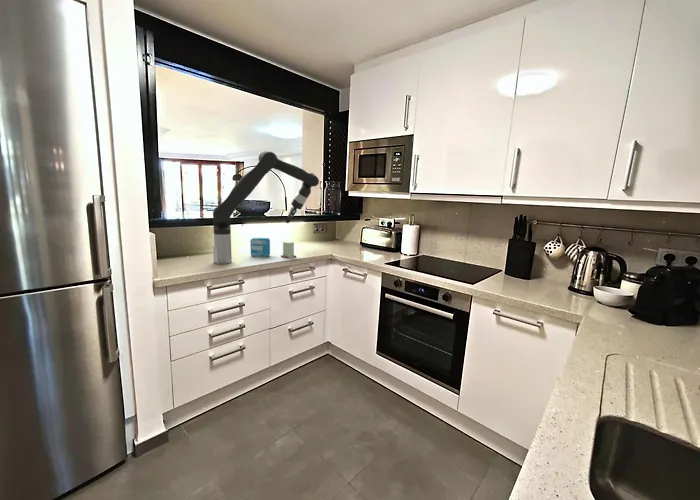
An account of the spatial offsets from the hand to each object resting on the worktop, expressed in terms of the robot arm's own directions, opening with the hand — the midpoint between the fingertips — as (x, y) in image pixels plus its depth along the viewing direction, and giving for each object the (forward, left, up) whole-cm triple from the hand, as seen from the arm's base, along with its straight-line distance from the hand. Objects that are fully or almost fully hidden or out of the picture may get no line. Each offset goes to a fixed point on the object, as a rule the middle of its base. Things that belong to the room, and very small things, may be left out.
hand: (287, 220), depth 211 cm
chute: (-4, -7, -23) cm, 25 cm away
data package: (-17, +6, -24) cm, 30 cm away
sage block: (-4, -7, -23) cm, 25 cm away
